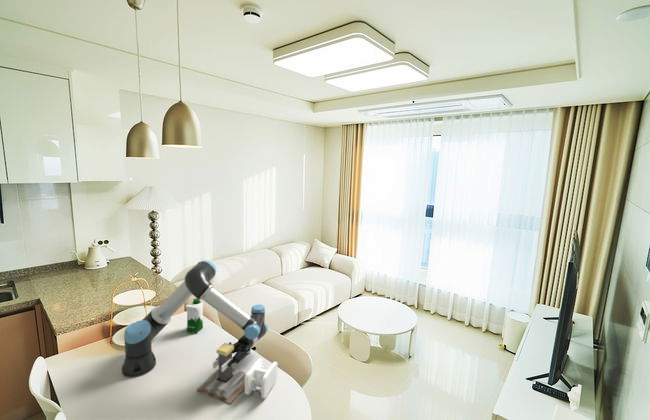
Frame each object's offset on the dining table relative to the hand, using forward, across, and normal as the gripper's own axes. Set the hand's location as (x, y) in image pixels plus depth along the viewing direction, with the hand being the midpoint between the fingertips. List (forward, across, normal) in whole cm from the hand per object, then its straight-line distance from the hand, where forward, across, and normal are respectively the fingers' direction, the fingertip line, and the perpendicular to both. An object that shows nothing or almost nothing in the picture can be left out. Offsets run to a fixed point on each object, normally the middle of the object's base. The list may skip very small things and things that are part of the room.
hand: (217, 367), depth 138 cm
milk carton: (-36, +50, -14) cm, 63 cm away
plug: (-5, 0, -9) cm, 10 cm away
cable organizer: (-11, -17, -14) cm, 25 cm away
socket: (-5, 0, -14) cm, 15 cm away
